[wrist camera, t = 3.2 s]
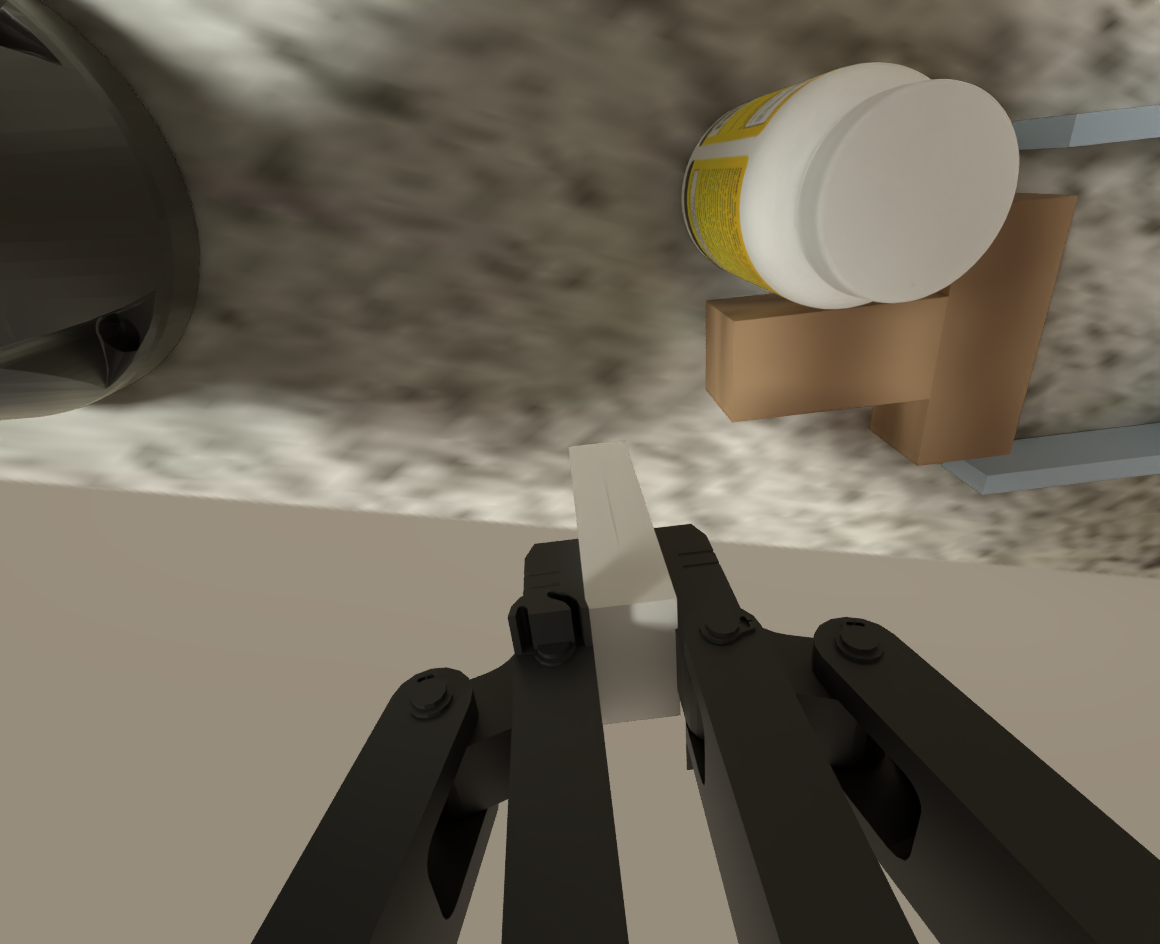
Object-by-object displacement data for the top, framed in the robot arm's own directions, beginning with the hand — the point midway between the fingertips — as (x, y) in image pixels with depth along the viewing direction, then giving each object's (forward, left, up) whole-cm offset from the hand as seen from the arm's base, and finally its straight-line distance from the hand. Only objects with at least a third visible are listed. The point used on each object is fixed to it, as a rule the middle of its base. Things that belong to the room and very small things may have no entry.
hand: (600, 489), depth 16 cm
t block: (+12, 0, -11) cm, 16 cm away
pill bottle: (+8, +6, -11) cm, 15 cm away
